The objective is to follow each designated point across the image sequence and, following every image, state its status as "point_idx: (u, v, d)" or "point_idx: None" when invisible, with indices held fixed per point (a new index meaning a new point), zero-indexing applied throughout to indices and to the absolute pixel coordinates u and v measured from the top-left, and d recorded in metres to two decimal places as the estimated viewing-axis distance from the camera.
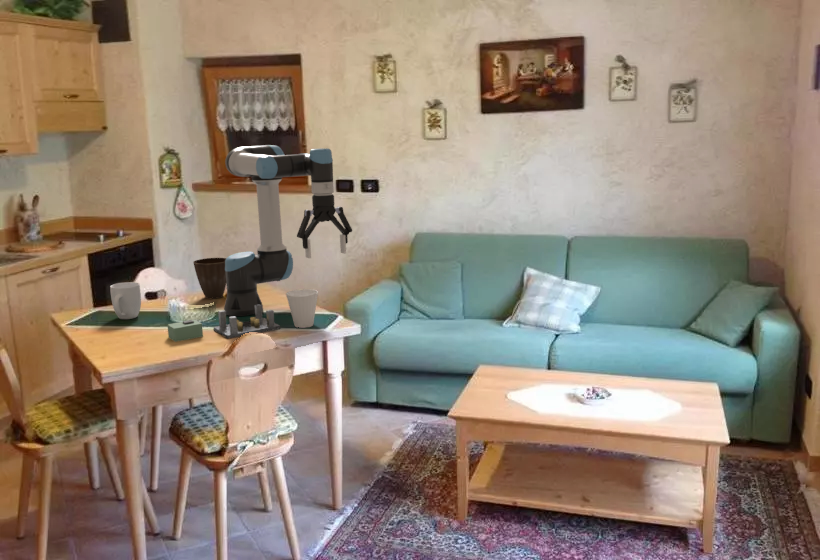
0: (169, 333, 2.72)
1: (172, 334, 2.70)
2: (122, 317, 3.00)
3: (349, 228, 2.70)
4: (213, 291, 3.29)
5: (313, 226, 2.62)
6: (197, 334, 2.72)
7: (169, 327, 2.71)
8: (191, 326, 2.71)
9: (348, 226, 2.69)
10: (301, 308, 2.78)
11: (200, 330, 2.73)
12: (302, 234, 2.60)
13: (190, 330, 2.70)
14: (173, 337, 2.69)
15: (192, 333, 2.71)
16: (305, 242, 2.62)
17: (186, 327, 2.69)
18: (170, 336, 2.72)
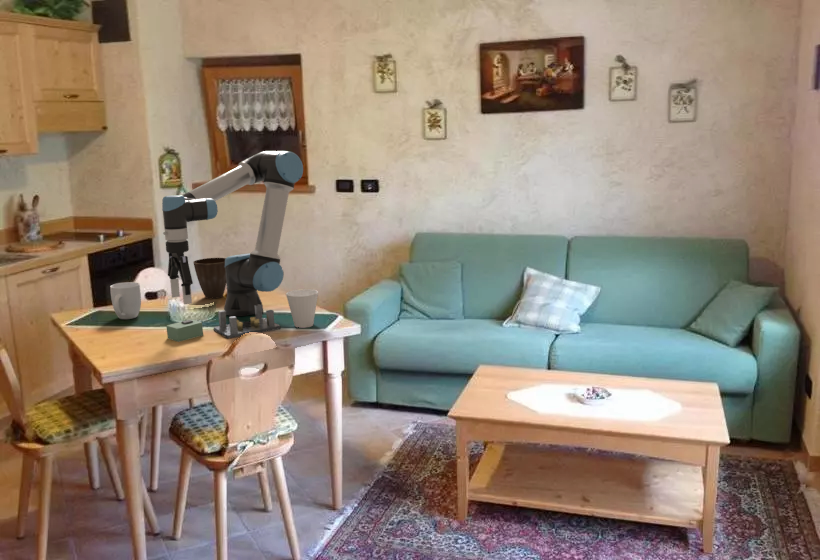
0: (169, 333, 2.71)
1: (173, 334, 2.69)
2: (122, 317, 3.00)
3: (184, 280, 2.61)
4: (213, 291, 3.29)
5: (171, 268, 2.72)
6: (198, 334, 2.73)
7: (169, 328, 2.70)
8: (192, 325, 2.71)
9: (183, 278, 2.61)
10: (301, 308, 2.78)
11: (200, 329, 2.74)
12: (168, 273, 2.76)
13: (191, 330, 2.71)
14: (175, 337, 2.68)
15: (193, 332, 2.72)
16: None
17: (188, 327, 2.70)
18: (170, 337, 2.71)
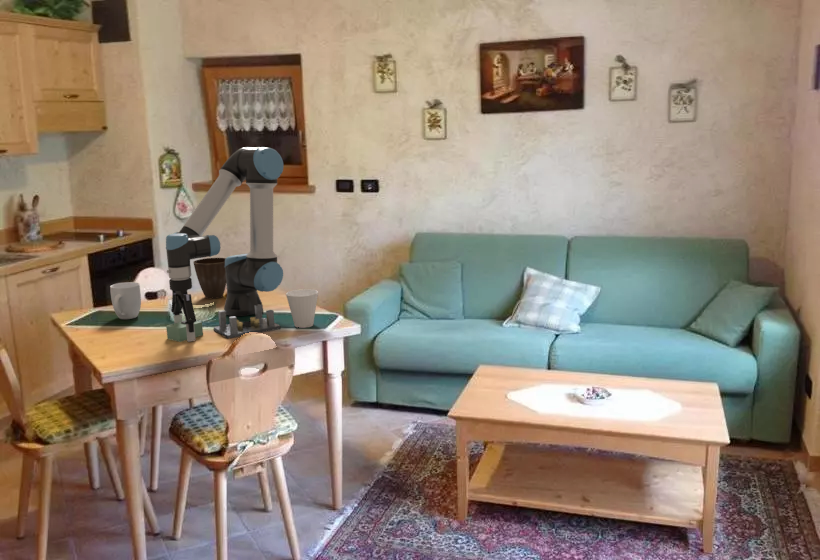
0: (169, 334, 2.71)
1: (174, 335, 2.69)
2: (122, 317, 3.00)
3: (188, 318, 2.64)
4: (213, 291, 3.29)
5: (175, 305, 2.74)
6: (198, 333, 2.74)
7: (169, 328, 2.70)
8: None
9: (187, 316, 2.64)
10: (301, 308, 2.78)
11: (200, 329, 2.74)
12: (172, 309, 2.78)
13: None
14: (176, 337, 2.68)
15: None
16: None
17: None
18: (171, 337, 2.70)
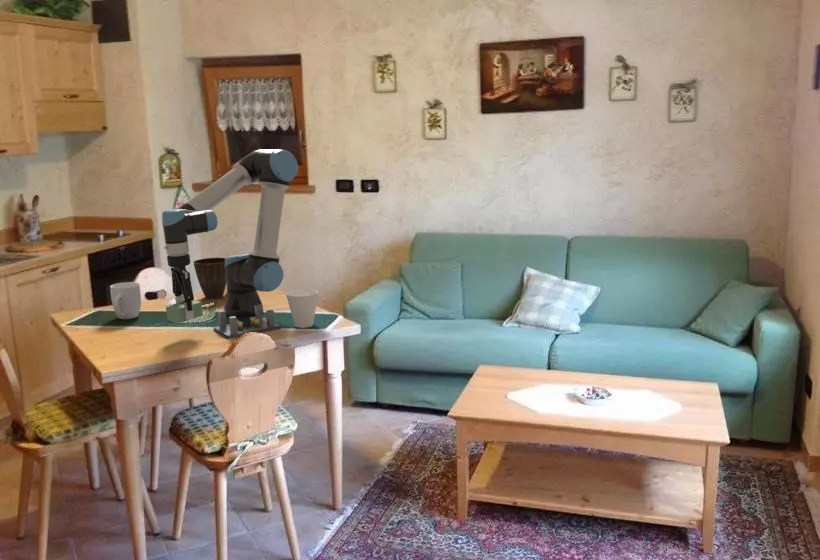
0: (169, 314, 2.69)
1: (174, 315, 2.67)
2: (122, 317, 3.00)
3: (186, 297, 2.64)
4: (213, 291, 3.29)
5: (175, 284, 2.72)
6: (198, 313, 2.73)
7: (169, 309, 2.68)
8: (193, 305, 2.70)
9: (185, 294, 2.64)
10: (301, 308, 2.78)
11: (200, 309, 2.73)
12: (173, 290, 2.76)
13: None
14: (177, 318, 2.67)
15: (194, 312, 2.71)
16: None
17: None
18: (171, 318, 2.69)
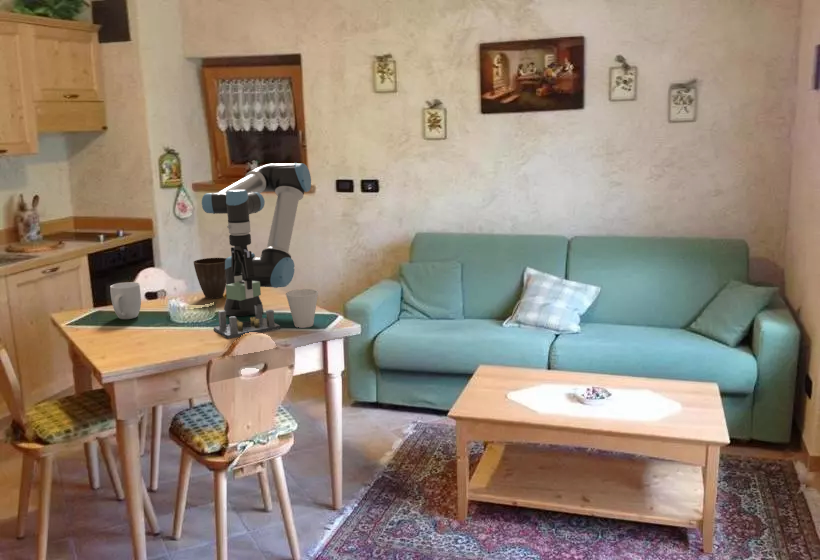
0: (228, 293, 2.75)
1: (234, 293, 2.73)
2: (122, 317, 3.00)
3: (247, 275, 2.70)
4: (213, 291, 3.29)
5: (235, 263, 2.78)
6: (256, 292, 2.78)
7: (229, 287, 2.74)
8: None
9: (246, 273, 2.70)
10: (301, 308, 2.78)
11: (258, 288, 2.79)
12: (232, 269, 2.81)
13: None
14: (237, 296, 2.72)
15: (253, 291, 2.77)
16: None
17: None
18: (230, 296, 2.74)
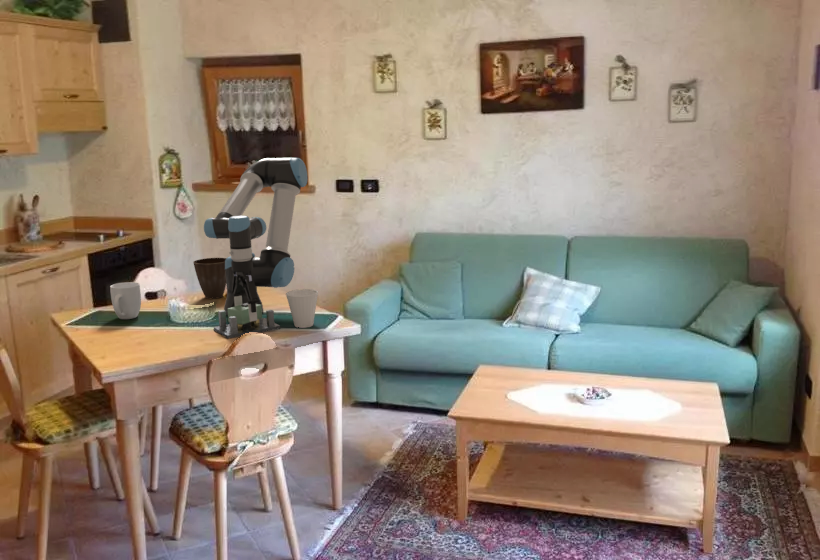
0: (230, 316, 2.76)
1: None
2: (122, 317, 3.00)
3: (250, 298, 2.70)
4: (213, 291, 3.29)
5: (235, 286, 2.81)
6: (258, 316, 2.80)
7: (231, 311, 2.75)
8: None
9: (250, 296, 2.70)
10: (301, 308, 2.78)
11: (260, 311, 2.81)
12: (232, 290, 2.85)
13: None
14: (238, 319, 2.74)
15: None
16: None
17: None
18: None
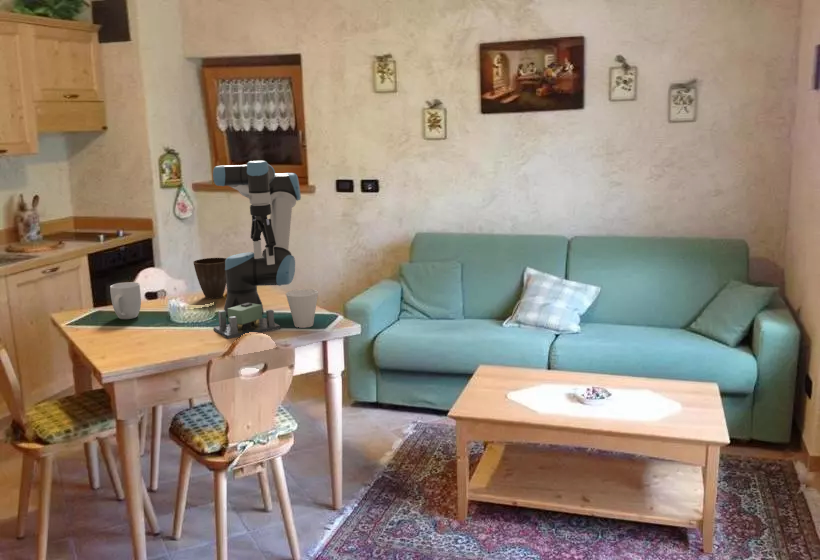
0: (230, 316, 2.76)
1: None
2: (122, 317, 3.00)
3: (268, 242, 2.74)
4: (213, 291, 3.29)
5: (254, 231, 2.85)
6: (258, 316, 2.80)
7: (231, 311, 2.75)
8: (253, 308, 2.78)
9: (267, 240, 2.74)
10: (301, 308, 2.78)
11: (260, 311, 2.81)
12: (251, 235, 2.89)
13: (253, 312, 2.77)
14: (238, 319, 2.74)
15: (254, 314, 2.78)
16: None
17: (250, 309, 2.76)
18: None
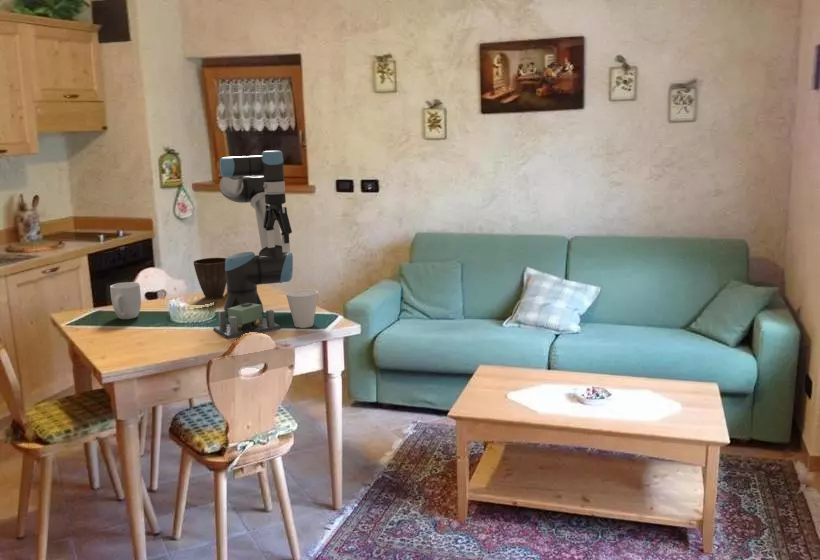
0: (230, 316, 2.76)
1: None
2: (122, 317, 3.00)
3: (284, 229, 2.79)
4: (213, 291, 3.29)
5: (268, 220, 2.90)
6: (258, 316, 2.80)
7: (231, 311, 2.75)
8: (253, 308, 2.78)
9: (283, 227, 2.79)
10: (301, 308, 2.78)
11: (260, 311, 2.81)
12: (264, 225, 2.94)
13: (253, 312, 2.77)
14: (238, 319, 2.74)
15: (254, 314, 2.78)
16: (267, 232, 2.94)
17: (250, 309, 2.76)
18: None
